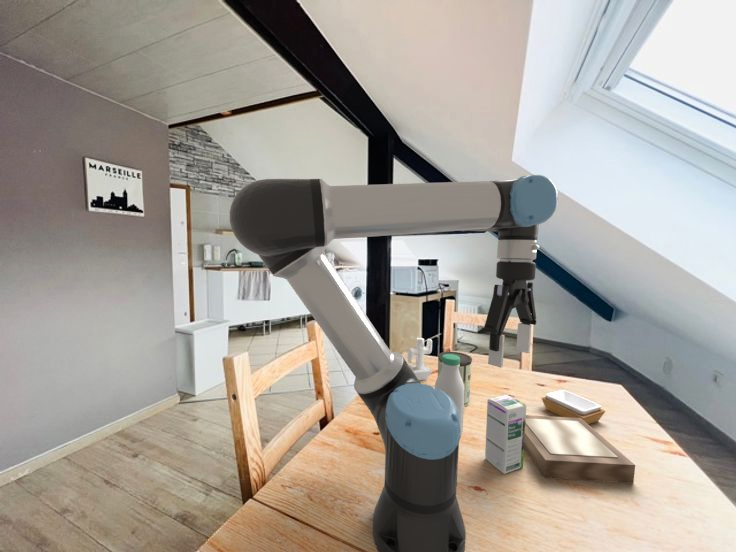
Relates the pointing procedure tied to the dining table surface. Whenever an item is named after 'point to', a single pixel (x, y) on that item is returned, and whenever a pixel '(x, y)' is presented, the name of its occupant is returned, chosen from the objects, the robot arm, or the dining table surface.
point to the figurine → (420, 358)
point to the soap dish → (572, 406)
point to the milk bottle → (452, 383)
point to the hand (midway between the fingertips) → (509, 358)
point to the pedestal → (574, 451)
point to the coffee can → (461, 372)
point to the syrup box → (505, 433)
